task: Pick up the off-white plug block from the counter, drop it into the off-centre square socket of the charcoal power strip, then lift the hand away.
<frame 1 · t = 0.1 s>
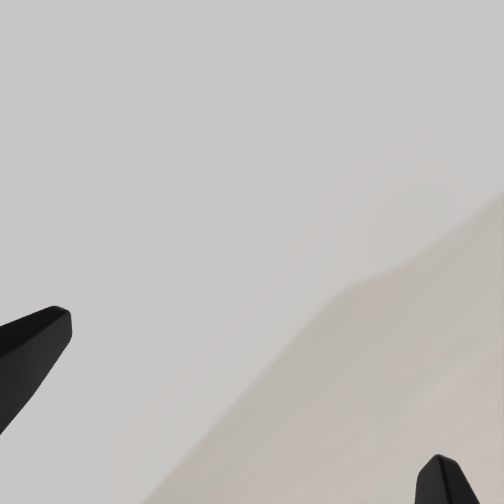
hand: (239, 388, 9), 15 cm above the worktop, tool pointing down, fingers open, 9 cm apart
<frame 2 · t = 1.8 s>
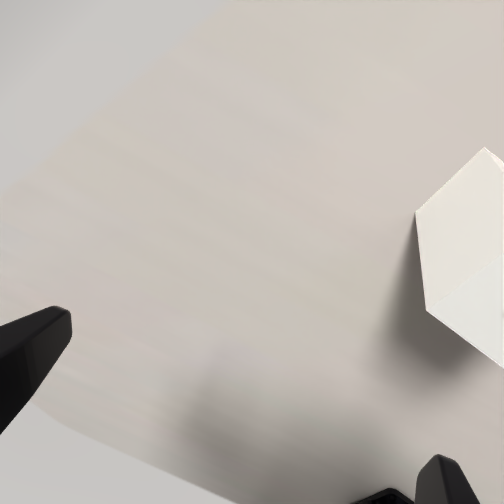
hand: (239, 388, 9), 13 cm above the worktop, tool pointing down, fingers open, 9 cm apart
plug block: (481, 207, 18), on the worktop
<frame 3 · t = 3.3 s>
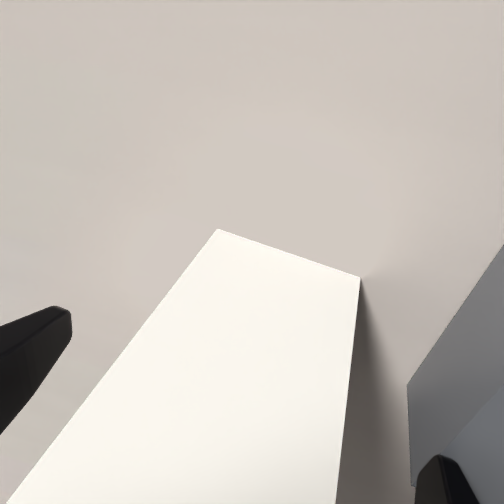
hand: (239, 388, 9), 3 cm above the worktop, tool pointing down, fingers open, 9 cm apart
plug block: (270, 306, 12), on the worktop
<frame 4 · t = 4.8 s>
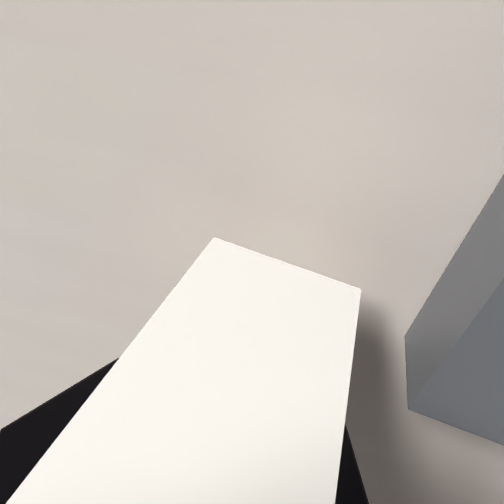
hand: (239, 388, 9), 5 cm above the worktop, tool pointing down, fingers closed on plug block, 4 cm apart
plug block: (268, 317, 11), point 3 cm above the worktop, touching gripper
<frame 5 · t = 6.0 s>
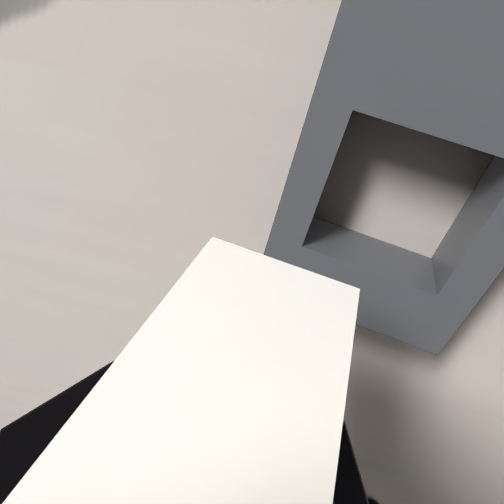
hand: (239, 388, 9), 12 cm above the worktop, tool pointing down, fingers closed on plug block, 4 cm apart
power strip: (442, 91, 16), on the worktop
plug block: (266, 317, 11), point 9 cm above the worktop, touching gripper
when the fingers open (4 cm above the worktop, at t = 7.9 s): plug block drops 2 cm, resting in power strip.
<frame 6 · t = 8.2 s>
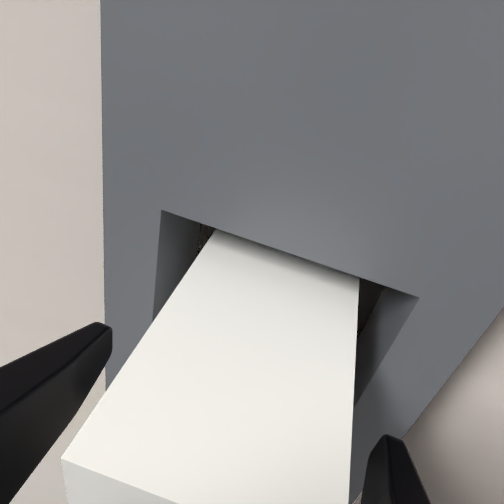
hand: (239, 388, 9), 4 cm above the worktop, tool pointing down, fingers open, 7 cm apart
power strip: (318, 164, 11), on the worktop
plug block: (279, 278, 13), resting in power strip
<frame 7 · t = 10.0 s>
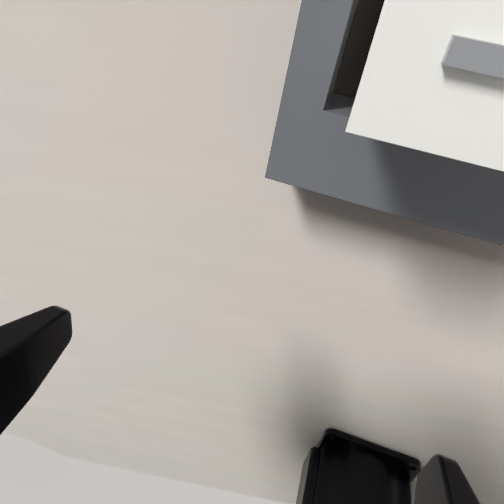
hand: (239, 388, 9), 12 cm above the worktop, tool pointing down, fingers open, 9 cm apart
plug block: (438, 24, 14), resting in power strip
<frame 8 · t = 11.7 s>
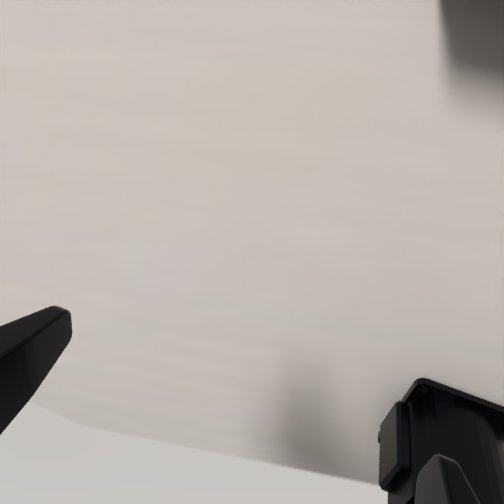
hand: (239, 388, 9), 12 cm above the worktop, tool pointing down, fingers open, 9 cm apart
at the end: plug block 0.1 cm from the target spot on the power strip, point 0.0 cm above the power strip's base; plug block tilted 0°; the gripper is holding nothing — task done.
